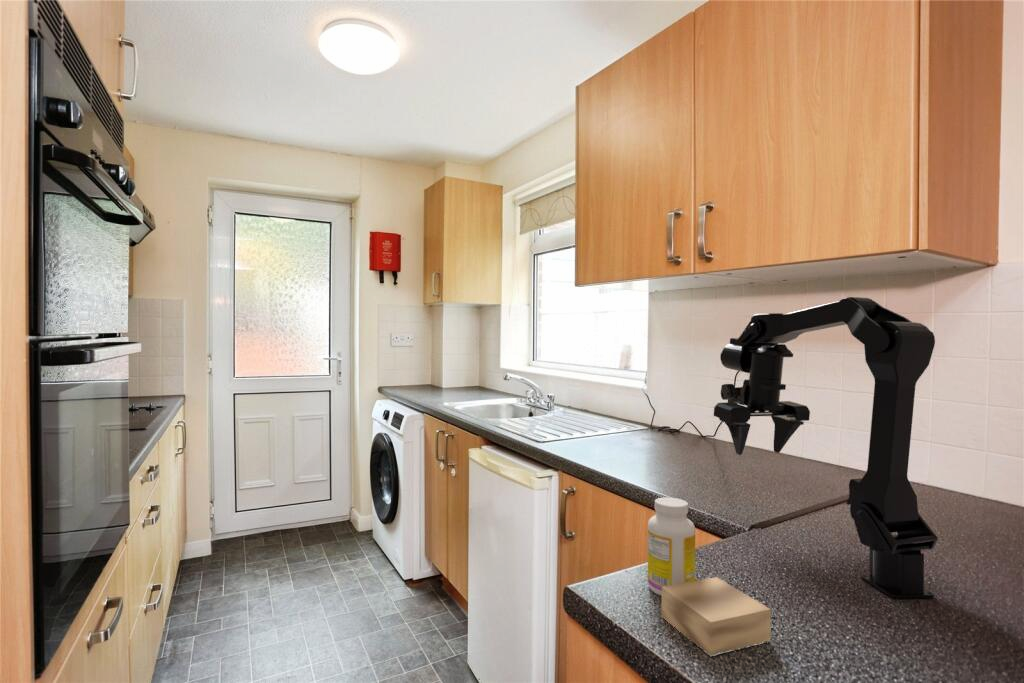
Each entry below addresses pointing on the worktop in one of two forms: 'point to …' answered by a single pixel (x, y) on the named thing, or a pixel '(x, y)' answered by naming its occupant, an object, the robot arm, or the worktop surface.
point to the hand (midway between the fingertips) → (757, 453)
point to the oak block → (715, 615)
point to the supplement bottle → (670, 545)
